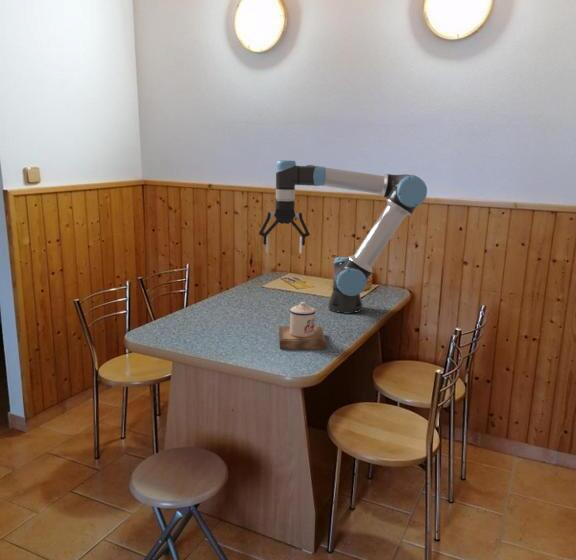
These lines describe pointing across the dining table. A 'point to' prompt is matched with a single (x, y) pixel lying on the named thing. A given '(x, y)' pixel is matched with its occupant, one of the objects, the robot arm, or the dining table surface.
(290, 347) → the walnut base
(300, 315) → the teacup with lid
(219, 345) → the dining table surface
